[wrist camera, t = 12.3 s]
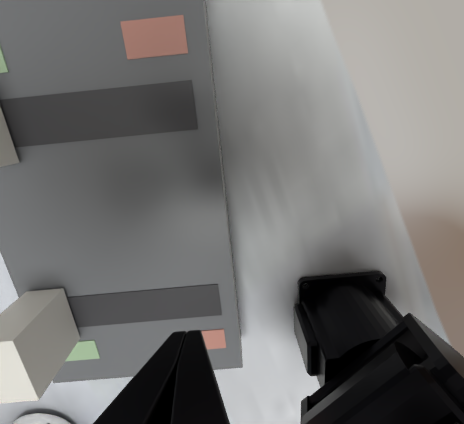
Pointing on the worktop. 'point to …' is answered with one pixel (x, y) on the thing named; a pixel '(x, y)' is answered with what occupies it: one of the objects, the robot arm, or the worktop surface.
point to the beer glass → (40, 419)
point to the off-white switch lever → (6, 145)
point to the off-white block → (34, 343)
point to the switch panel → (117, 177)
